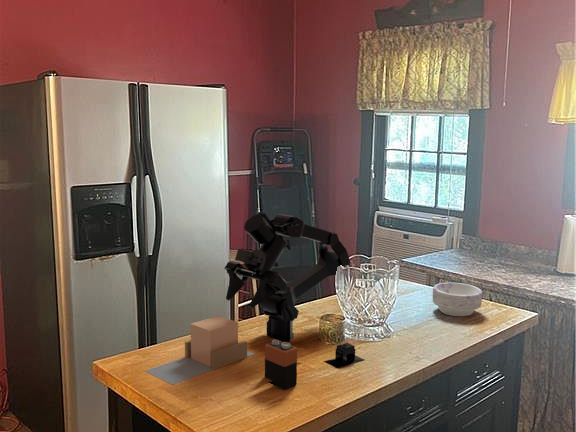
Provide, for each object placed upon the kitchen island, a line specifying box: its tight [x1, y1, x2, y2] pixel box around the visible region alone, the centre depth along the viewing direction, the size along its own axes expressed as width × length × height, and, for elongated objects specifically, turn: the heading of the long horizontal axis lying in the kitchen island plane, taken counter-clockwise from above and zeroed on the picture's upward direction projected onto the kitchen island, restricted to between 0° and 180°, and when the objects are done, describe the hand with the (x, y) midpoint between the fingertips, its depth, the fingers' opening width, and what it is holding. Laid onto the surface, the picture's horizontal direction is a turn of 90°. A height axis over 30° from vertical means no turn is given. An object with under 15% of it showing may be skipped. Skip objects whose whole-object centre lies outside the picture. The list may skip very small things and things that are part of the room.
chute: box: [144, 339, 256, 386], centre depth 151 cm, size 26×11×5 cm, turn 137°
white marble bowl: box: [432, 282, 483, 317], centre depth 196 cm, size 15×15×8 cm
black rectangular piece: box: [322, 342, 365, 369], centre depth 156 cm, size 12×7×5 cm, turn 126°
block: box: [190, 315, 239, 367], centre depth 153 cm, size 9×8×9 cm
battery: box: [264, 339, 298, 390], centre depth 142 cm, size 4×7×10 cm, turn 45°
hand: (238, 303), depth 159 cm, fingers open, 9 cm apart
